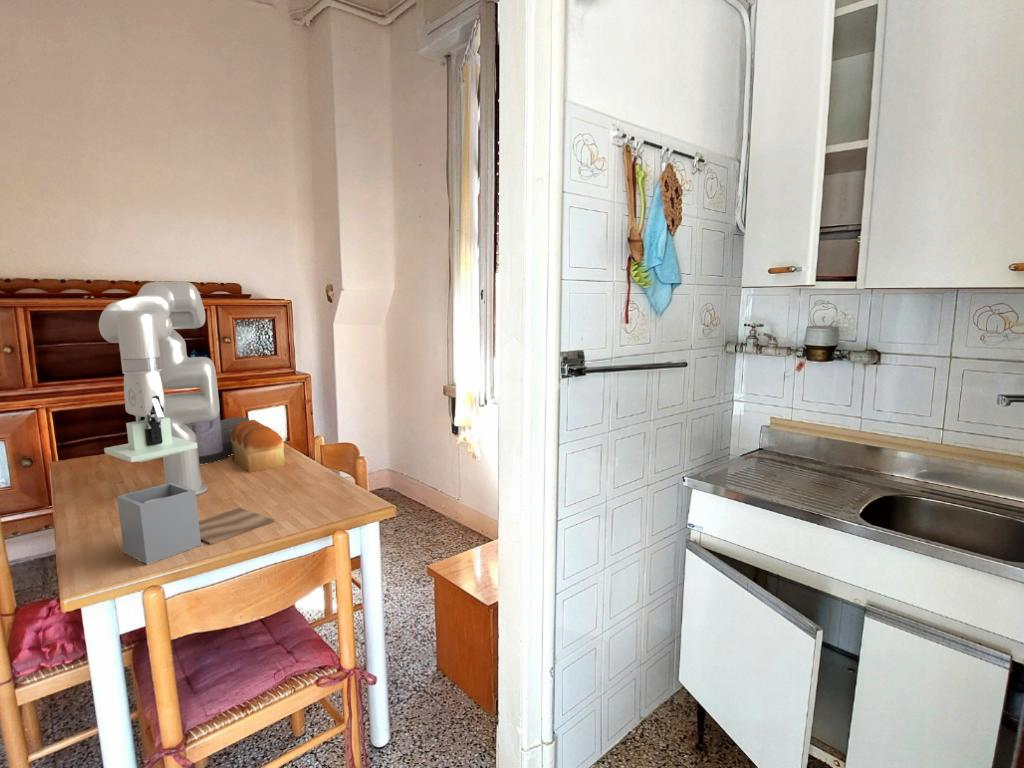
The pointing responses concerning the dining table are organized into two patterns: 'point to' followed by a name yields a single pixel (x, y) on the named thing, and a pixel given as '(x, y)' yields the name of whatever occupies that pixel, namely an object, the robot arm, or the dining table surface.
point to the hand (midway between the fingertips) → (151, 442)
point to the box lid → (142, 452)
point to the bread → (256, 446)
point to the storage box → (159, 522)
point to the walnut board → (230, 524)
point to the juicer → (214, 438)
